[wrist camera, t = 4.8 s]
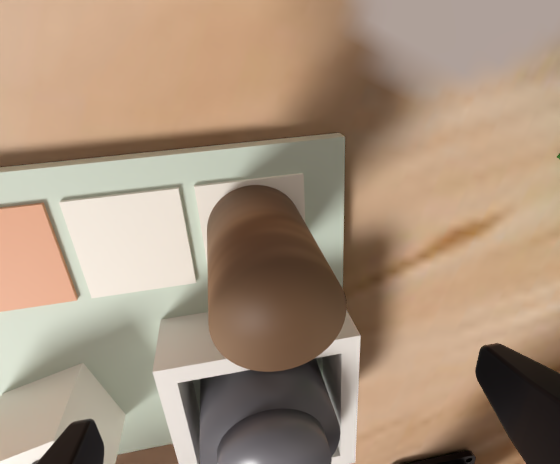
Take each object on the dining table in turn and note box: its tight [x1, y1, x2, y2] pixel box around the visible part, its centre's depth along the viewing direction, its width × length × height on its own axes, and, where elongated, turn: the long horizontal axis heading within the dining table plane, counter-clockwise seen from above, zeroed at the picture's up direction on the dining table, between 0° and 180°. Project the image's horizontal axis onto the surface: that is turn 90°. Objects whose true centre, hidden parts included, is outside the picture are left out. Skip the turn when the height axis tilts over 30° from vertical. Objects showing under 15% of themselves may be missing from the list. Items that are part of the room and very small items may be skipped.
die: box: [0, 363, 126, 464], centre depth 17 cm, size 4×4×4 cm
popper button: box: [199, 358, 341, 464], centre depth 18 cm, size 6×6×5 cm
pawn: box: [207, 185, 347, 372], centre depth 14 cm, size 4×4×6 cm
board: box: [0, 133, 361, 464], centre depth 17 cm, size 18×16×4 cm
